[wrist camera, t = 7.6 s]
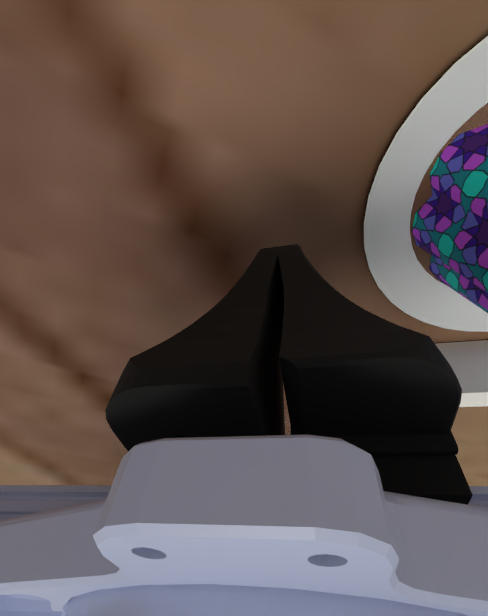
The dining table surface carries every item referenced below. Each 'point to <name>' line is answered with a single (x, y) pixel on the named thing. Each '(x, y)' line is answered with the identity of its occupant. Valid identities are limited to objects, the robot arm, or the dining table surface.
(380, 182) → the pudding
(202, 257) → the dining table surface
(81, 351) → the dining table surface
